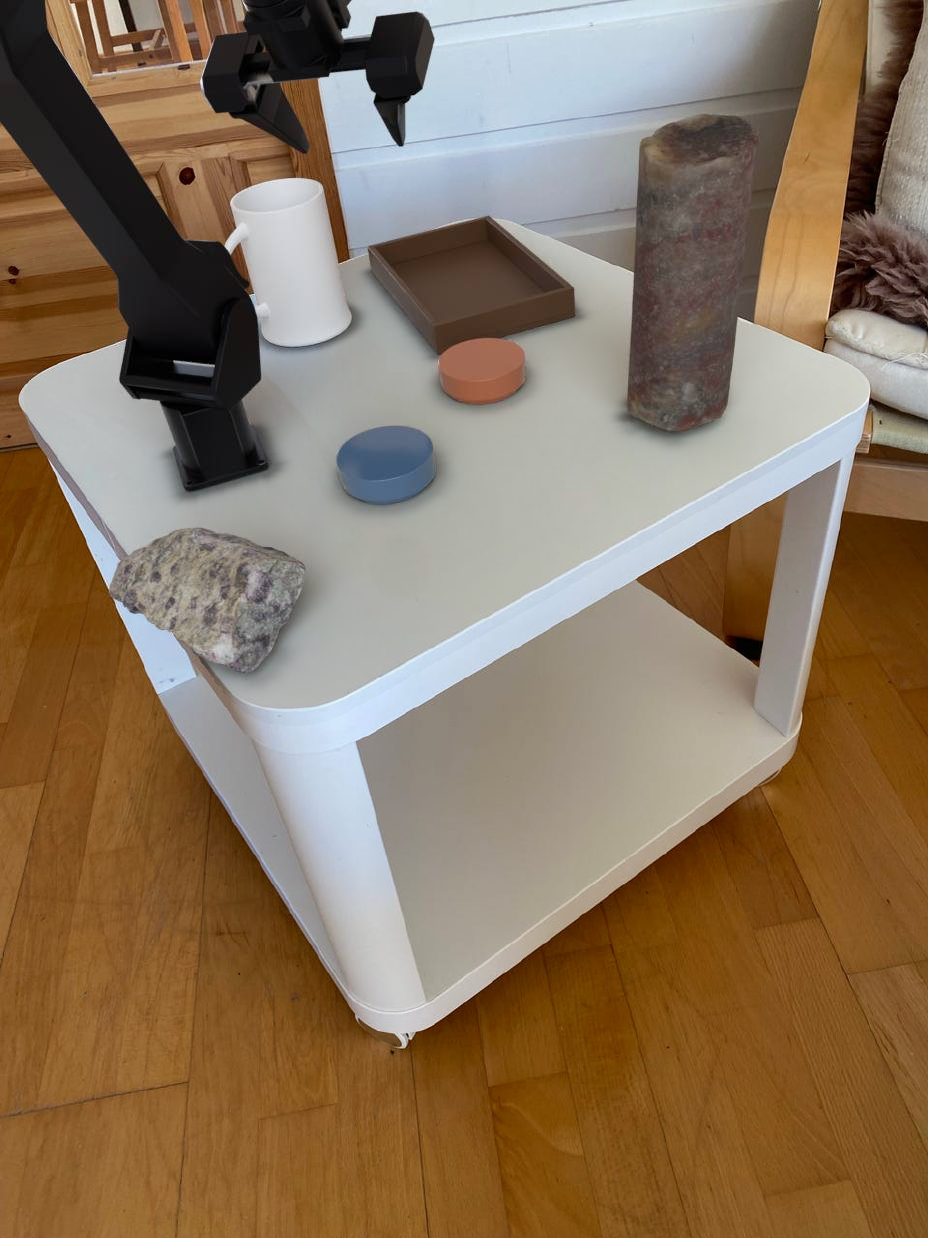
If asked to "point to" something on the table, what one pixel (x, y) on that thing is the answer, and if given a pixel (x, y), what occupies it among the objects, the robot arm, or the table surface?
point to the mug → (291, 261)
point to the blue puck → (386, 464)
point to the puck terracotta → (482, 370)
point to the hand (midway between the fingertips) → (353, 146)
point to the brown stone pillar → (689, 267)
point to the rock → (212, 593)
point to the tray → (470, 283)
